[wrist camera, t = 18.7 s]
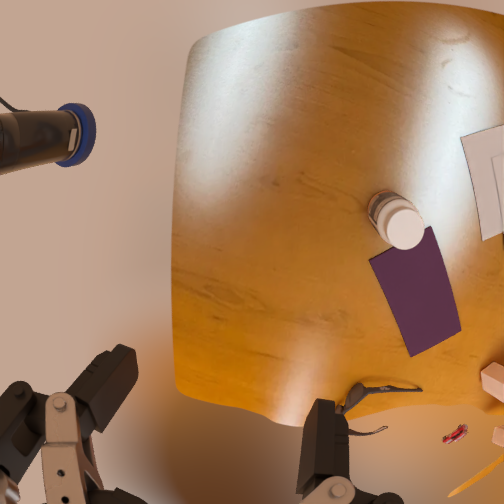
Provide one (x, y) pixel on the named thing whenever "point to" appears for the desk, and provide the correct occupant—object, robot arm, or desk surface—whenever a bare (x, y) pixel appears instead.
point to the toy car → (456, 434)
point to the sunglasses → (360, 392)
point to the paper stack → (487, 177)
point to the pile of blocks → (495, 393)
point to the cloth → (418, 293)
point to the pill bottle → (396, 220)
